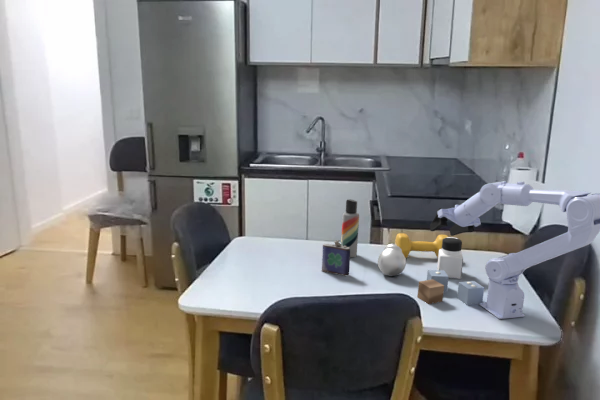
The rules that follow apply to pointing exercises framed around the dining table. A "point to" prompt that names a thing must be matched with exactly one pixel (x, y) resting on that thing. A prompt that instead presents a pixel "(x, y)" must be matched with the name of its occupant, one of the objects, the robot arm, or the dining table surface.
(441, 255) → the medicine bottle
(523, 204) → the robot arm
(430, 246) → the dumbbell
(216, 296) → the dining table surface
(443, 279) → the dotted block
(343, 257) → the flask
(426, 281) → the walnut block
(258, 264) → the dining table surface
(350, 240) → the lotion bottle
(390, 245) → the silver round ornament
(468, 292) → the dotted block
